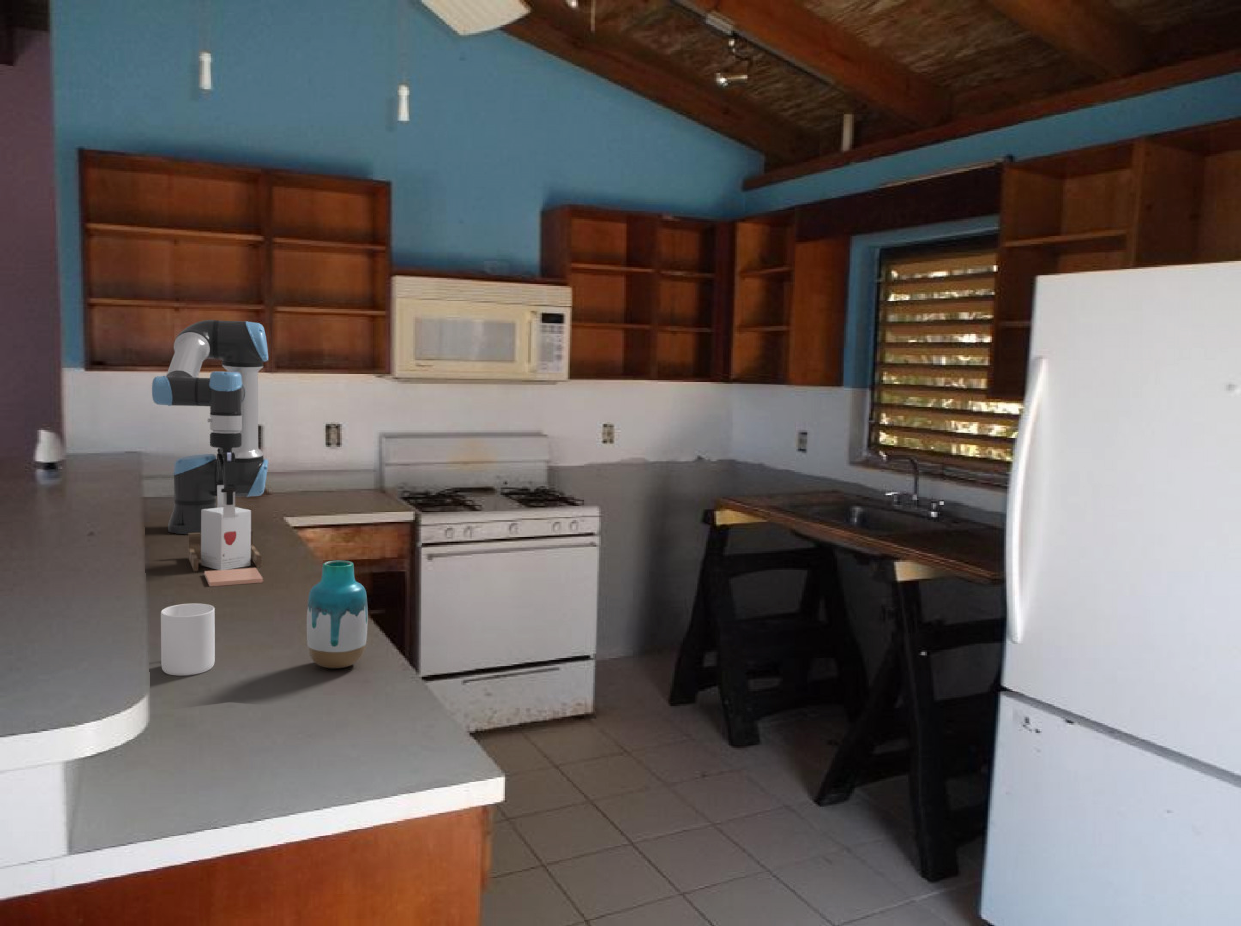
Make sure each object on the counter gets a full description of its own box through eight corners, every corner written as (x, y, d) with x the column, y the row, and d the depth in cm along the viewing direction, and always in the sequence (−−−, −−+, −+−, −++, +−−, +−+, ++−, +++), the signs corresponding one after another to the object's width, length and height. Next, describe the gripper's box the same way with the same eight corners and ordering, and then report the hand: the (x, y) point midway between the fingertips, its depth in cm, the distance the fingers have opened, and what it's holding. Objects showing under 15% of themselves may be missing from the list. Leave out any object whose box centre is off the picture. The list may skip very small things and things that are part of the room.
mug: (211, 652, 171) (211, 596, 170) (216, 673, 160) (216, 613, 159) (160, 657, 167) (159, 600, 166) (162, 679, 156) (161, 618, 155)
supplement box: (220, 571, 232) (220, 513, 230) (200, 565, 237) (199, 509, 235) (252, 565, 240) (252, 509, 238) (231, 560, 245) (231, 505, 243)
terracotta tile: (204, 575, 228) (204, 571, 227) (255, 571, 234) (255, 567, 233) (209, 586, 217) (209, 582, 217) (263, 582, 223) (262, 578, 223)
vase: (375, 658, 172) (377, 559, 170) (353, 677, 161) (355, 571, 159) (321, 654, 173) (322, 555, 171) (296, 673, 162) (296, 567, 160)
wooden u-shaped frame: (188, 557, 245) (188, 533, 244) (252, 554, 253) (252, 530, 252) (193, 571, 231) (193, 544, 230) (261, 566, 239) (261, 541, 238)
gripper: (205, 428, 243) (205, 506, 245) (215, 435, 222) (215, 521, 224) (235, 428, 247) (235, 505, 249) (248, 435, 226) (248, 520, 228)
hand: (225, 513), depth 236 cm, fingers open, 13 cm apart
